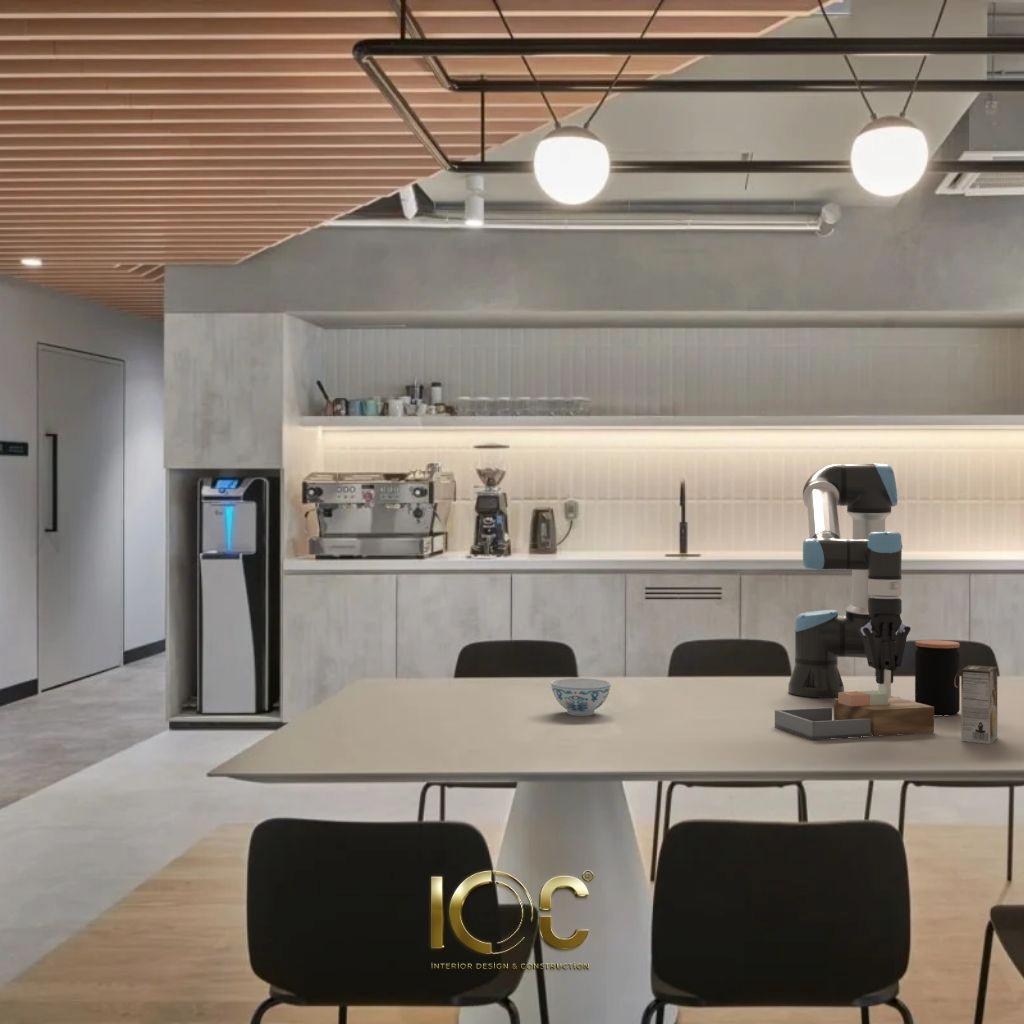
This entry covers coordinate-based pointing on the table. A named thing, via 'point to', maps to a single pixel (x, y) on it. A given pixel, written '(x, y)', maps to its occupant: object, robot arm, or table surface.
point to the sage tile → (877, 697)
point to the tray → (820, 724)
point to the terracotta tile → (854, 698)
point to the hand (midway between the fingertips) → (884, 697)
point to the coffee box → (979, 704)
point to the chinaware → (580, 694)
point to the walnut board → (890, 716)
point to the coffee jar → (938, 675)
